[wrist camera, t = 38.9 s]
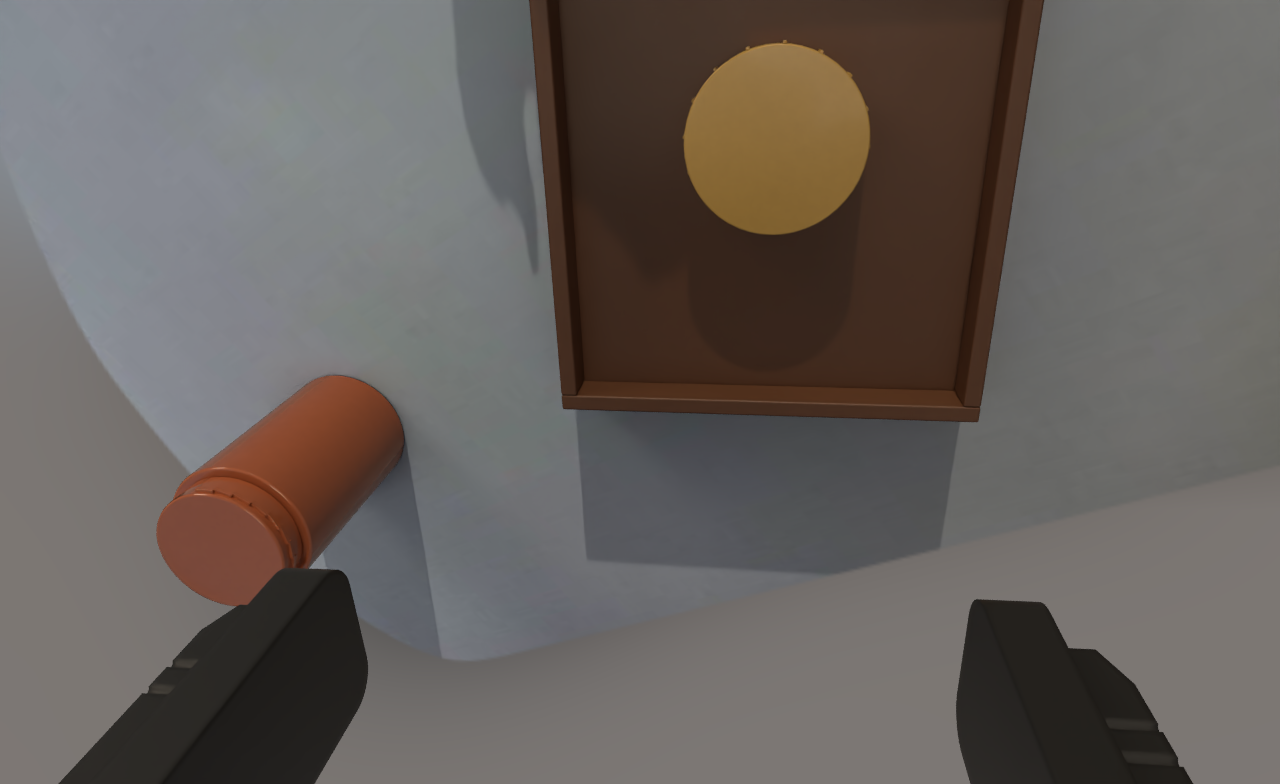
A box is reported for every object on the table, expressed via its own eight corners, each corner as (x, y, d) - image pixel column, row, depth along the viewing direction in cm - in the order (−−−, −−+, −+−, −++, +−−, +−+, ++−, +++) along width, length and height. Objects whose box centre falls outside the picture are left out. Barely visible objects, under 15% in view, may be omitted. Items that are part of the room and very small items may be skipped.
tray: (964, 396, 31) (978, 423, 28) (575, 385, 33) (562, 409, 31) (1054, -221, 23) (1083, -245, 21) (533, -180, 25) (512, -199, 23)
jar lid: (713, 21, 26) (709, 20, 24) (893, 67, 26) (900, 70, 24) (668, 201, 28) (663, 210, 27) (831, 245, 28) (835, 256, 27)
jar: (413, 482, 36) (307, 619, 28) (305, 477, 37) (171, 609, 28) (394, 376, 34) (273, 490, 26) (280, 373, 35) (127, 482, 26)
